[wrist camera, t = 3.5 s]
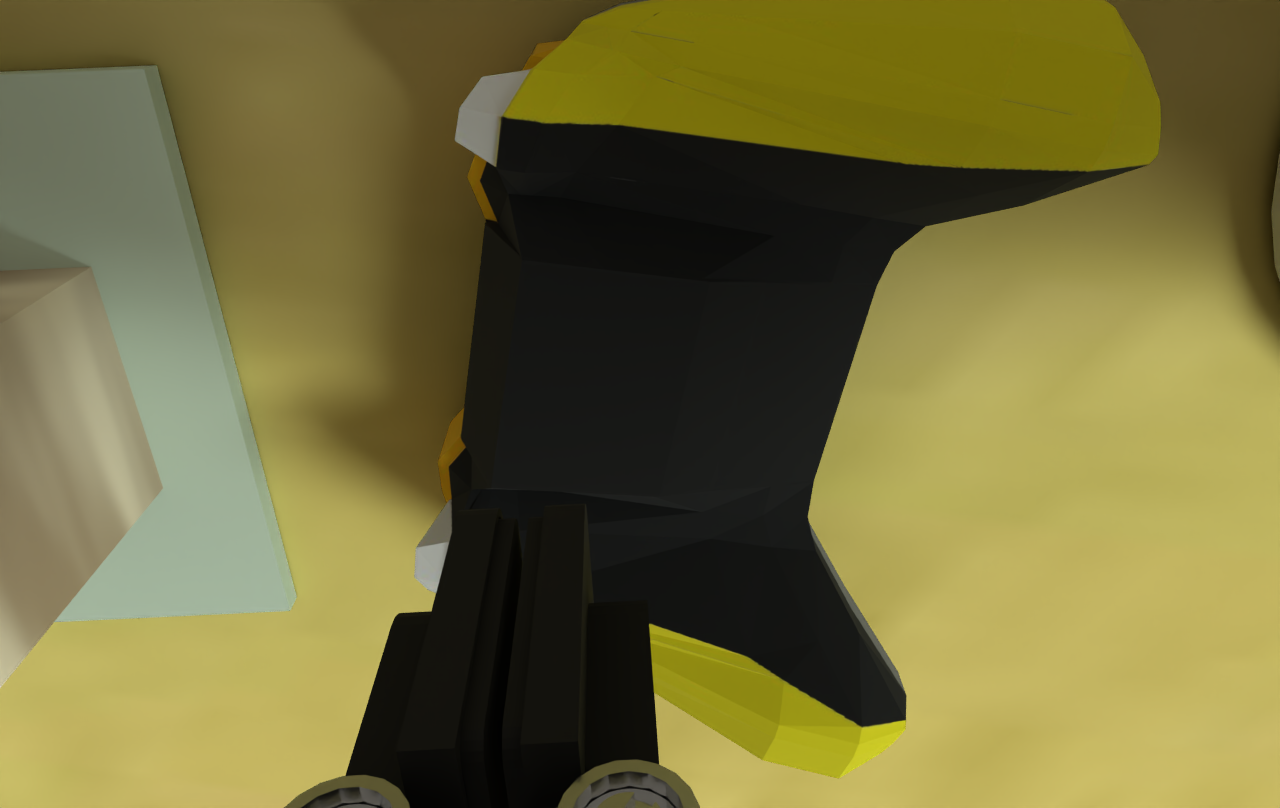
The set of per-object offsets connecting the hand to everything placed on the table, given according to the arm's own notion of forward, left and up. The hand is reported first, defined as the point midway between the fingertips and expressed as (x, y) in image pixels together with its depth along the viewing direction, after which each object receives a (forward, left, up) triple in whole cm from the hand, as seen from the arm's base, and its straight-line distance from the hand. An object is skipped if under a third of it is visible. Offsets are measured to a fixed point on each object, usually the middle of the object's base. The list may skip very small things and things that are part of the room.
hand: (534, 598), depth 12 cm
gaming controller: (-3, 0, -8) cm, 9 cm away
